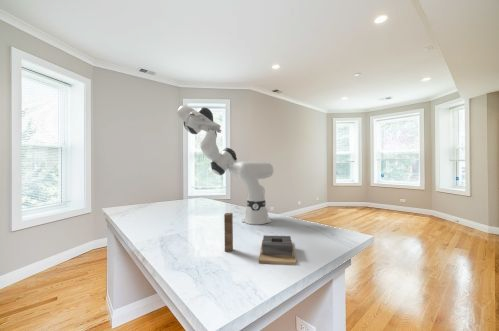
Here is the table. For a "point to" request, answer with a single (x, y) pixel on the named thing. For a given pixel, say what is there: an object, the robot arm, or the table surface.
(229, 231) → the walnut slat
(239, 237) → the table surface
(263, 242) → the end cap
